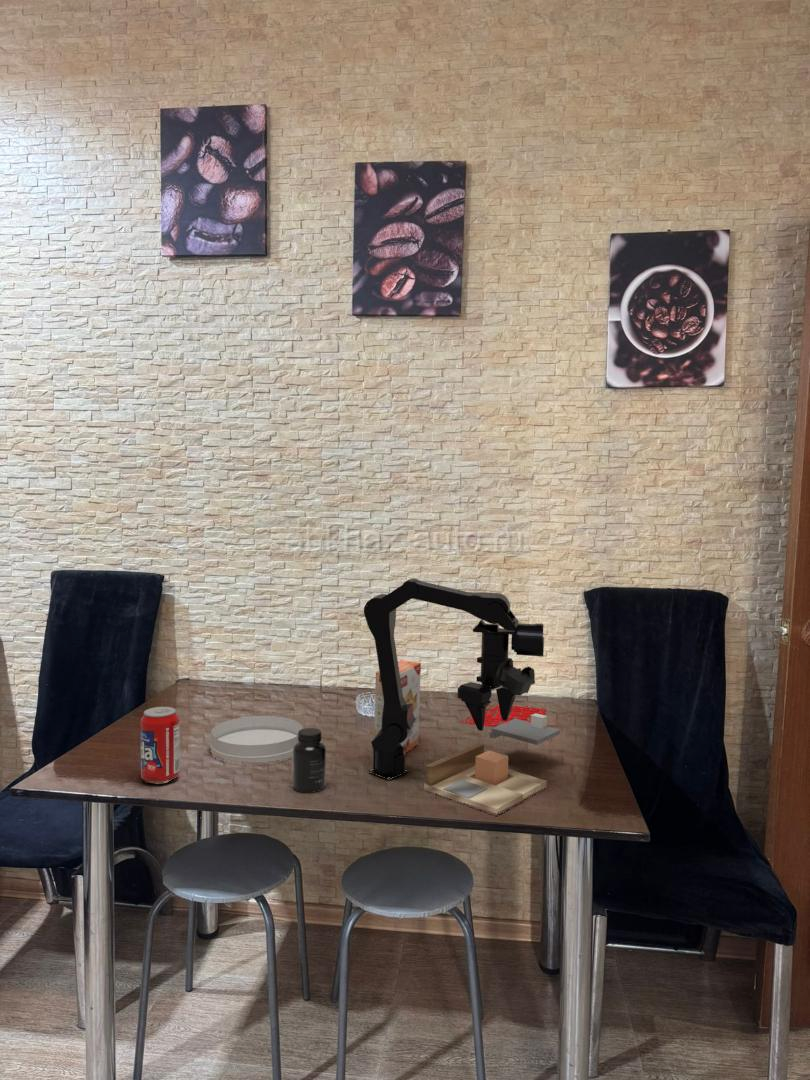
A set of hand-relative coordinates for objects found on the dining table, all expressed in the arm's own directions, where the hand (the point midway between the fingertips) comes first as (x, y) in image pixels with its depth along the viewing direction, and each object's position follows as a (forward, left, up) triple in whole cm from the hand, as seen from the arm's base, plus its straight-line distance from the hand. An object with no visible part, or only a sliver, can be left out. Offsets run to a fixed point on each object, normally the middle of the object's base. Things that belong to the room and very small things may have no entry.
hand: (492, 725), depth 162 cm
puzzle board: (+1, -3, -13) cm, 13 cm away
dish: (-53, -21, -13) cm, 58 cm away
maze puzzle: (-24, +42, -13) cm, 50 cm away
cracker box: (-27, 0, -13) cm, 30 cm away
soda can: (-53, -47, -13) cm, 72 cm away
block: (0, 0, -13) cm, 13 cm away
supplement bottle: (-27, -28, -13) cm, 41 cm away
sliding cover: (-1, +15, -7) cm, 17 cm away
